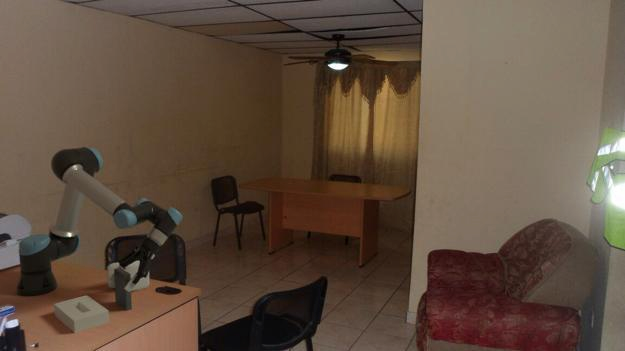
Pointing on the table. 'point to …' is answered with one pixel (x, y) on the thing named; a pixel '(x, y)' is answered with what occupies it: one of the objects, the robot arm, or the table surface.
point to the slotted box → (81, 313)
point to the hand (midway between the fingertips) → (118, 285)
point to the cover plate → (122, 289)
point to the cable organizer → (132, 270)
